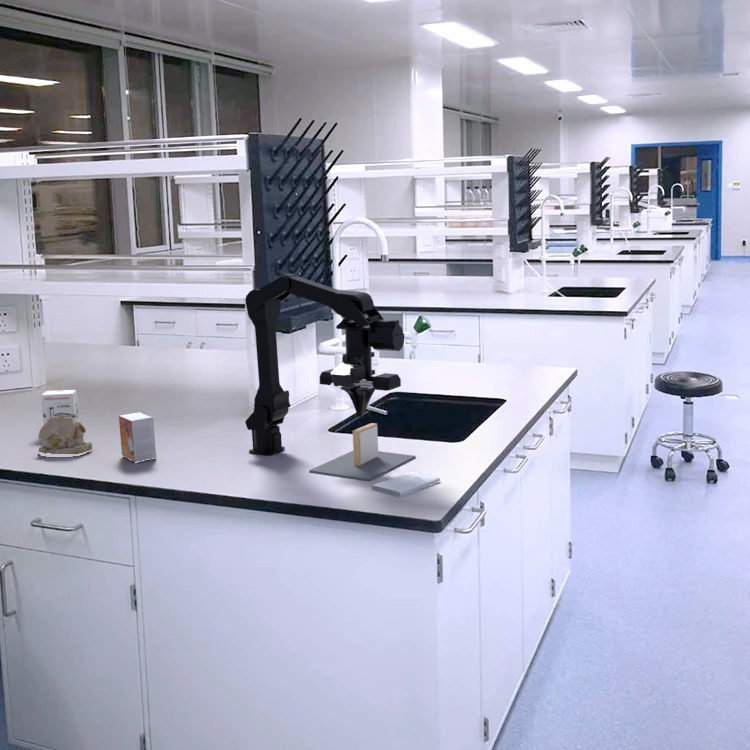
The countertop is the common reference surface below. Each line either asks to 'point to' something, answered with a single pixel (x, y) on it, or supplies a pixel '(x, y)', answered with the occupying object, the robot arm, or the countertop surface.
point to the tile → (365, 444)
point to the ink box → (59, 404)
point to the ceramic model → (63, 436)
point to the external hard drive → (405, 483)
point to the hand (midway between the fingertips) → (360, 416)
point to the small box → (137, 436)
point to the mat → (362, 466)
